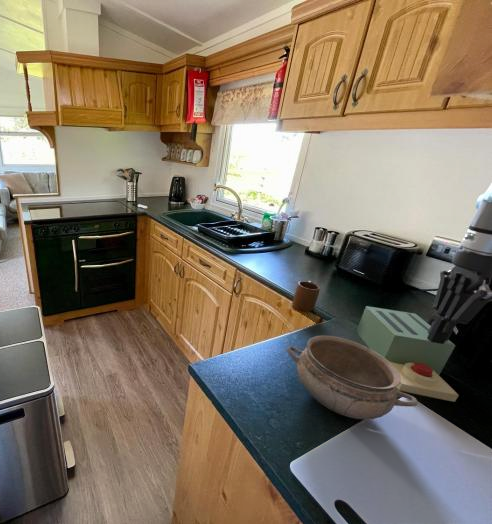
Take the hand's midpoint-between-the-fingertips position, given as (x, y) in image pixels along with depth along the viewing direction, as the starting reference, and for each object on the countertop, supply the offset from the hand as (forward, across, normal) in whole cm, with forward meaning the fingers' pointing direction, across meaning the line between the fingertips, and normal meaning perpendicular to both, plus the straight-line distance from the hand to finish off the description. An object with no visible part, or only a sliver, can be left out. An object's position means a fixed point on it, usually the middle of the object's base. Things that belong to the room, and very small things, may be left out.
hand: (435, 341), depth 72 cm
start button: (+10, 0, 0) cm, 10 cm away
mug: (+14, -37, -18) cm, 43 cm away
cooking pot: (+14, +14, -24) cm, 31 cm away
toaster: (+13, -14, +2) cm, 19 cm away
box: (+13, 0, 0) cm, 13 cm away
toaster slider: (+3, -9, +7) cm, 11 cm away
